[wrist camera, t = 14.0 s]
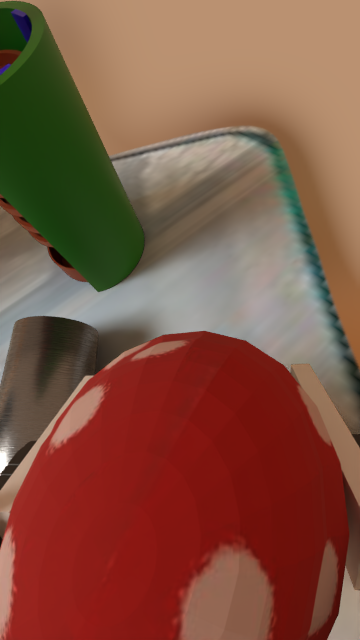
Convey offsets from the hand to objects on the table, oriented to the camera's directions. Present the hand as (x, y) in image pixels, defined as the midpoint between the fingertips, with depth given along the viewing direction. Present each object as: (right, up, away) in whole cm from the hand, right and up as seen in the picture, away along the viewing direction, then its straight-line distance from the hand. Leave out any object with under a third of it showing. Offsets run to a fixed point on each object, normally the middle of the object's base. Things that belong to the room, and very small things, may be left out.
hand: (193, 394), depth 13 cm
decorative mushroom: (+1, -5, +4) cm, 7 cm away
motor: (-9, +11, +15) cm, 21 cm away
